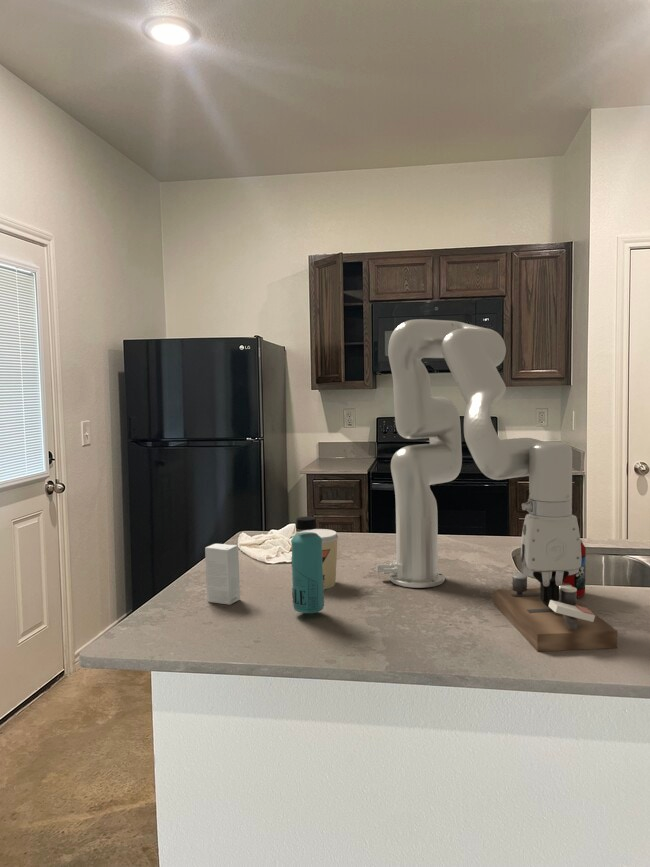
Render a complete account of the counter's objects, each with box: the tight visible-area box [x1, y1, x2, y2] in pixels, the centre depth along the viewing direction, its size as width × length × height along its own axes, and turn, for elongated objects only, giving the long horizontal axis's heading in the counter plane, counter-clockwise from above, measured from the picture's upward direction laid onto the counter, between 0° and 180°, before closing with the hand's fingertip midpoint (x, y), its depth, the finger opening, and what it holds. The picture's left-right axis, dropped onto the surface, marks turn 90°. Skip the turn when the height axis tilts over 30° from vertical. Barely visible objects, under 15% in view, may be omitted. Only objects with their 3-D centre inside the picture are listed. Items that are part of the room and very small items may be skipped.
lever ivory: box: [560, 586, 577, 606], centre depth 125 cm, size 3×3×4 cm
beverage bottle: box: [290, 515, 326, 614], centre depth 133 cm, size 6×7×20 cm
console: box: [493, 587, 618, 652], centre depth 126 cm, size 14×24×5 cm, turn 3°
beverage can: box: [562, 538, 587, 599], centre depth 142 cm, size 7×7×12 cm
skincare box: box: [204, 543, 241, 606], centre depth 143 cm, size 6×4×12 cm
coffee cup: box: [299, 528, 339, 590], centre depth 153 cm, size 9×9×12 cm
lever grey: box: [511, 572, 528, 595], centre depth 133 cm, size 3×3×4 cm
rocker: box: [549, 600, 595, 622], centre depth 117 cm, size 7×3×1 cm, turn 94°
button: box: [559, 583, 572, 597], centre depth 129 cm, size 3×3×2 cm
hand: (549, 604), depth 125 cm, fingers closed
